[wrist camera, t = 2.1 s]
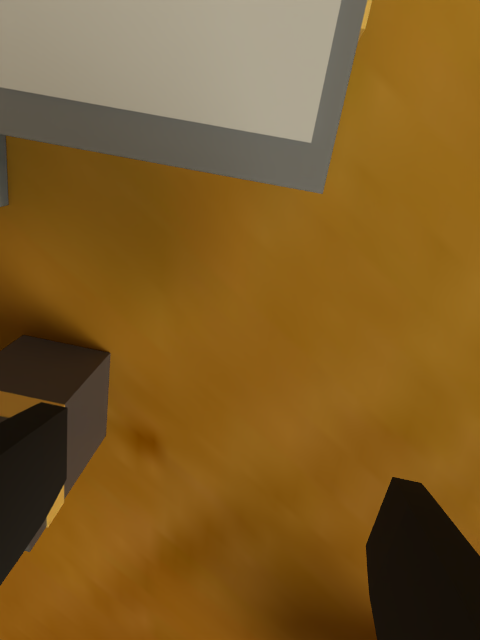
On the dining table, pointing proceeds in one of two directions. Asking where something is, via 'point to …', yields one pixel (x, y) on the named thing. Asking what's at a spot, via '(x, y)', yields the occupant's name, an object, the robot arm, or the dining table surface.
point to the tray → (3, 172)
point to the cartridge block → (58, 397)
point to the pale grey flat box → (184, 81)
